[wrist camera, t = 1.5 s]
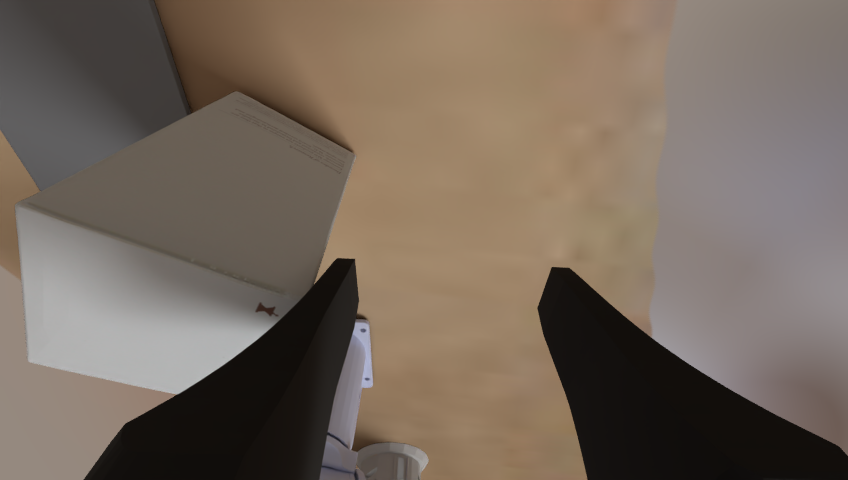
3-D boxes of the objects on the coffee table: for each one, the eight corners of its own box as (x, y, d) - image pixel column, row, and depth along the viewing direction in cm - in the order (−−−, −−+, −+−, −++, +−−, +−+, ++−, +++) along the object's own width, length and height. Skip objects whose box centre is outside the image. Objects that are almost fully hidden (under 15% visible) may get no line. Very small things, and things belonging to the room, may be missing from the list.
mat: (245, 278, 26) (243, 281, 25) (100, 273, 25) (96, 276, 25) (150, -10, 16) (144, -11, 15) (-90, -24, 15) (-101, -26, 15)
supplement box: (234, 85, 18) (1, 191, 7) (359, 154, 20) (316, 305, 10) (203, 191, 21) (14, 365, 11) (314, 238, 24) (246, 416, 13)
